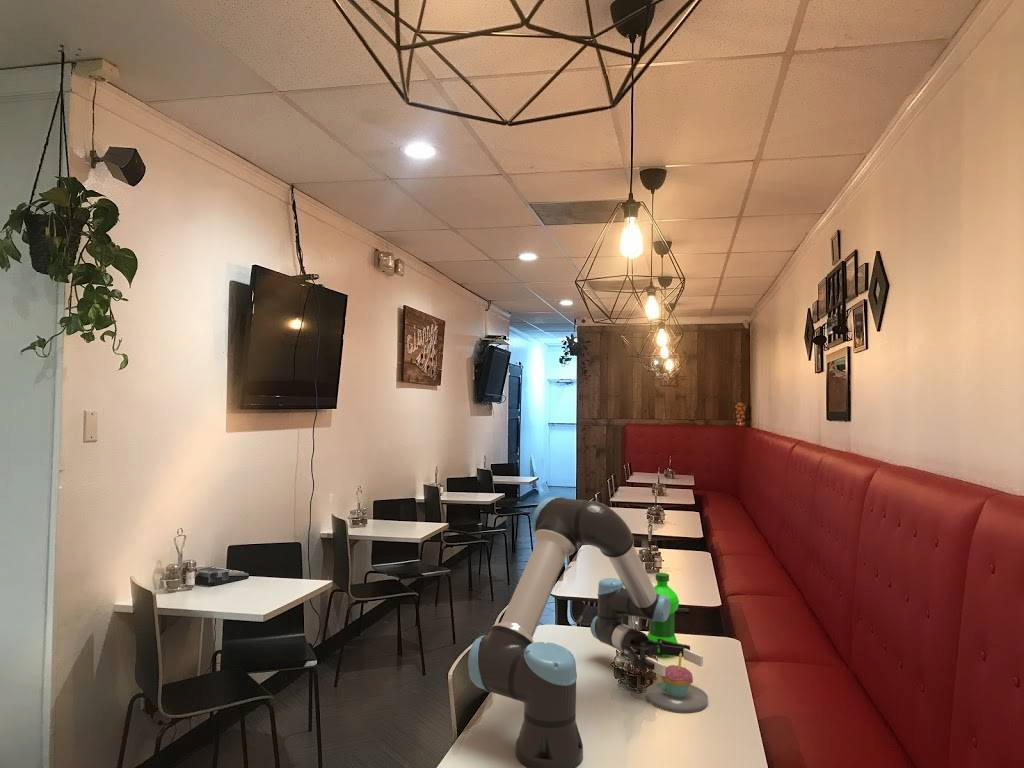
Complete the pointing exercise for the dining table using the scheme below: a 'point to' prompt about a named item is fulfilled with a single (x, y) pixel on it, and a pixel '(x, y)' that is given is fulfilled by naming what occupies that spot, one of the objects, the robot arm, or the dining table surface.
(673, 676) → the cupcake
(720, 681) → the dining table surface
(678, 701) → the slate plate
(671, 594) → the plastic bottle
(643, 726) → the dining table surface
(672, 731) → the dining table surface
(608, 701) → the dining table surface
